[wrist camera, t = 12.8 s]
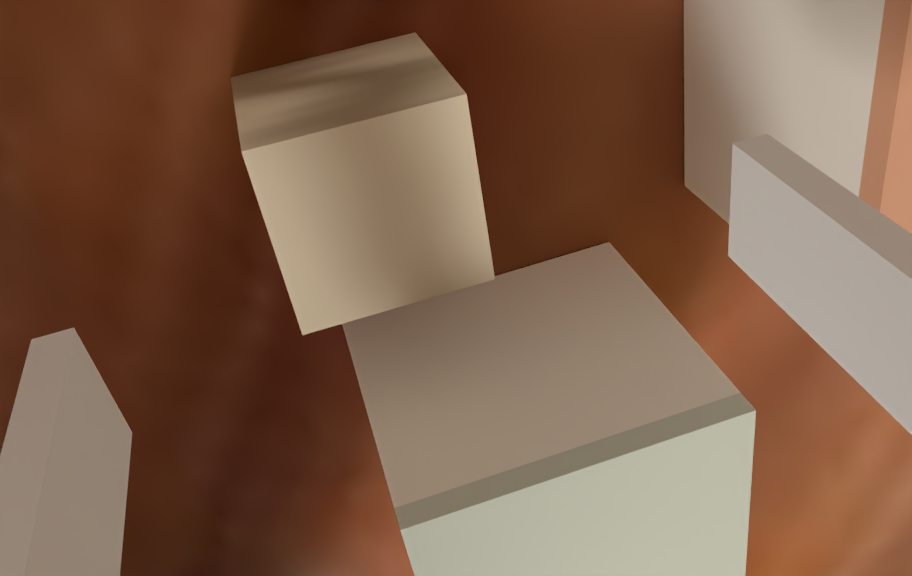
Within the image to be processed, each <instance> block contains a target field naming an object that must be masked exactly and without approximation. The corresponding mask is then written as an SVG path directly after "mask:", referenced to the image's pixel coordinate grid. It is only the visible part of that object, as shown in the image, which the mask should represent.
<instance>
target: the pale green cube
mask: <svg viewBox="0 0 912 576" xmlns="http://www.w3.org/2000/svg"><path fill="white" fill-rule="evenodd" d="M342 326H343V329H344V333H345V336H346V340H347V343H348V347H349V350H350V354H351V357H352V361H353V365H354V368H355V372H356V375H357V379H358V382H359V386H360V389H361V393H362V396H363V400H364V403H365V407H366V411H367V414H368V418H369V421H370V425H371V428H372V432H373V435H374V439H375V442H376V446H377V449H378V453H379V457H380V460H381V464H382V467H383V471H384V474H385V478H386V481H387V485H388V488H389V492H390V495H391V499H392V503H393V506H394V510H395V513H396V517H397V520H398V524H399V527H400V531H401V534H402V537H403V540H404V543H405V547H406V550H407V553H408V556H409V559H410V562H411V566H412V569H413V572H414V575H415V576H745V570H746V555H747V540H748V524H749V509H750V494H751V478H752V463H753V448H754V432H755V417H756V410H755V409H754V407H753V406H752V405H751V404H750V403H749V402H748V401H747V399H746V398H745V397H744V396H743V395H742V394H741V393H740V391H739V390H738V389H737V388H736V387H735V386H734V385H733V383H732V382H731V381H730V380H729V379H728V378H727V377H726V375H725V374H724V373H723V372H722V371H721V370H720V368H719V367H718V366H717V365H716V364H715V363H714V362H713V360H712V359H711V358H710V357H709V356H708V355H707V354H706V352H705V351H704V350H703V349H702V348H701V347H700V346H699V344H698V343H697V342H696V341H695V340H694V339H693V338H692V336H691V335H690V334H689V333H688V332H687V331H686V329H685V328H684V327H683V326H682V325H681V324H680V323H679V321H678V320H677V319H676V318H675V317H674V316H673V315H672V313H671V312H670V311H669V310H668V309H667V308H666V307H665V305H664V304H663V303H662V302H661V301H660V300H659V299H658V297H657V296H656V295H655V294H654V293H653V292H652V291H651V289H650V288H649V287H648V286H647V285H646V284H645V282H644V281H643V280H642V279H641V278H640V277H639V276H638V274H637V273H636V272H635V271H634V270H633V269H632V268H631V266H630V265H629V264H628V263H627V262H626V261H625V260H624V258H623V257H622V256H621V255H620V254H619V253H618V252H617V250H616V249H615V248H614V247H613V246H612V245H611V243H610V242H607V243H604V244H600V245H597V246H594V247H590V248H587V249H584V250H580V251H577V252H574V253H570V254H567V255H564V256H560V257H557V258H554V259H550V260H547V261H544V262H541V263H537V264H534V265H531V266H527V267H524V268H521V269H517V270H514V271H511V272H507V273H504V274H501V275H497V276H495V279H494V280H491V281H488V282H484V283H481V284H477V285H474V286H470V287H467V288H463V289H460V290H457V291H453V292H450V293H446V294H443V295H439V296H436V297H432V298H429V299H426V300H422V301H419V302H415V303H412V304H408V305H405V306H401V307H398V308H395V309H391V310H388V311H384V312H381V313H377V314H374V315H370V316H367V317H364V318H360V319H357V320H353V321H350V322H346V323H343V324H342Z"/></svg>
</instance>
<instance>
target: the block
mask: <svg viewBox="0 0 912 576" xmlns="http://www.w3.org/2000/svg"><path fill="white" fill-rule="evenodd" d="M230 80H231V86H232V93H233V100H234V106H235V113H236V120H237V126H238V133H239V140H240V146H241V152H242V155H243V158H244V161H245V164H246V167H247V170H248V173H249V176H250V179H251V182H252V185H253V188H254V191H255V194H256V197H257V200H258V203H259V206H260V209H261V212H262V215H263V218H264V221H265V224H266V227H267V230H268V233H269V236H270V239H271V242H272V245H273V248H274V251H275V254H276V257H277V260H278V263H279V266H280V269H281V272H282V275H283V278H284V281H285V284H286V287H287V290H288V293H289V296H290V299H291V302H292V305H293V308H294V311H295V314H296V317H297V320H298V323H299V326H300V329H301V332H302V335H305V334H309V333H312V332H315V331H319V330H322V329H326V328H329V327H333V326H336V325H340V324H343V323H346V322H350V321H353V320H357V319H360V318H364V317H367V316H370V315H374V314H377V313H381V312H384V311H388V310H391V309H395V308H398V307H401V306H405V305H408V304H412V303H415V302H419V301H422V300H426V299H429V298H432V297H436V296H439V295H443V294H446V293H450V292H453V291H457V290H460V289H463V288H467V287H470V286H474V285H477V284H481V283H484V282H488V281H491V280H494V279H495V275H494V269H493V262H492V256H491V249H490V243H489V236H488V230H487V223H486V217H485V210H484V204H483V197H482V191H481V184H480V178H479V171H478V165H477V158H476V152H475V145H474V139H473V132H472V126H471V119H470V113H469V106H468V100H467V94H466V93H465V91H464V90H463V89H462V88H461V87H460V85H459V84H458V83H457V82H456V81H455V79H454V78H453V77H452V76H451V75H450V73H449V72H448V71H447V70H446V69H445V67H444V66H443V65H442V64H441V63H440V61H439V60H438V59H437V58H436V57H435V55H434V54H433V53H432V52H431V51H430V49H429V48H428V47H427V46H426V45H425V43H424V42H423V41H422V40H421V39H420V37H419V36H418V35H417V34H416V33H410V34H406V35H402V36H398V37H394V38H390V39H386V40H382V41H378V42H374V43H370V44H365V45H361V46H357V47H353V48H349V49H345V50H341V51H337V52H333V53H329V54H325V55H320V56H316V57H312V58H308V59H304V60H300V61H296V62H292V63H288V64H284V65H280V66H275V67H271V68H267V69H263V70H259V71H255V72H251V73H247V74H243V75H239V76H235V77H230Z"/></svg>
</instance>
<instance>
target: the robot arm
mask: <svg viewBox="0 0 912 576" xmlns="http://www.w3.org/2000/svg"><path fill="white" fill-rule="evenodd" d="M728 256H729V257H730V258H731V259H732V260H733V261H734V262H735V263H736V264H737V265H738V266H739V267H740V268H741V269H742V270H743V271H744V272H745V273H746V274H747V275H748V276H749V277H750V278H751V279H752V280H753V281H754V282H755V283H756V284H757V285H758V286H760V287H761V288H762V289H763V290H764V291H765V292H766V293H767V294H768V295H769V296H770V297H771V298H772V299H773V300H774V301H775V302H776V303H777V304H778V305H779V306H780V307H781V308H782V309H783V310H784V311H785V312H786V313H787V314H788V315H789V316H790V317H791V318H792V319H793V320H794V321H795V322H796V323H797V324H798V325H800V326H801V327H802V328H803V329H804V330H805V331H806V332H807V333H808V334H809V335H810V336H811V337H812V338H813V339H814V340H815V341H816V342H817V343H818V344H819V345H820V346H821V347H822V348H823V349H824V350H825V351H826V352H827V353H828V354H829V355H830V356H831V357H832V358H833V359H834V360H835V361H836V362H837V363H838V364H840V365H841V366H842V367H843V368H844V369H845V370H846V371H847V372H848V373H849V374H850V375H851V376H852V377H853V378H854V379H855V380H856V381H857V382H858V383H859V384H860V385H861V386H862V387H863V388H864V389H865V390H866V391H867V392H868V393H869V394H870V395H871V396H872V397H873V398H874V399H875V400H876V401H877V402H878V403H879V404H881V405H882V406H883V407H884V408H885V409H886V410H887V411H888V412H889V413H890V414H891V415H892V416H893V417H894V418H895V419H896V420H897V421H898V422H899V423H900V424H901V425H902V426H903V427H904V428H905V429H906V430H907V431H908V432H909V433H910V434H911V435H912V234H911V233H909V232H908V231H906V230H905V229H903V228H902V227H901V226H899V225H898V224H896V223H895V222H893V221H892V220H891V219H889V218H888V217H886V216H885V215H883V214H882V213H880V212H879V211H878V210H876V209H875V208H873V207H872V206H870V205H869V204H868V203H866V202H865V201H863V200H862V199H860V198H859V197H857V196H856V195H855V194H853V193H852V192H850V191H849V190H847V189H846V188H845V187H843V186H842V185H840V184H839V183H837V182H836V181H835V180H833V179H832V178H830V177H829V176H827V175H826V174H824V173H823V172H822V171H820V170H819V169H817V168H816V167H814V166H813V165H812V164H810V163H809V162H807V161H806V160H804V159H803V158H801V157H800V156H799V155H797V154H796V153H794V152H793V151H791V150H790V149H789V148H787V147H786V146H784V145H783V144H781V143H780V142H778V141H777V140H776V139H774V138H773V137H771V136H770V135H768V134H764V135H761V136H757V137H754V138H750V139H746V140H743V141H739V142H736V143H733V145H732V170H731V195H730V220H729V246H728ZM131 443H132V431H131V429H130V427H129V426H128V424H127V422H126V420H125V418H124V417H123V415H122V413H121V411H120V409H119V408H118V406H117V404H116V402H115V400H114V399H113V397H112V395H111V393H110V391H109V390H108V388H107V386H106V384H105V382H104V381H103V379H102V377H101V375H100V373H99V372H98V370H97V368H96V366H95V364H94V363H93V361H92V359H91V357H90V355H89V354H88V352H87V350H86V348H85V346H84V345H83V343H82V341H81V339H80V337H79V336H78V334H77V332H76V330H75V328H70V329H67V330H63V331H59V332H56V333H52V334H49V335H45V336H42V337H38V338H34V339H31V342H30V346H29V350H28V354H27V357H26V361H25V365H24V369H23V372H22V376H21V380H20V384H19V387H18V391H17V395H16V398H15V402H14V406H13V410H12V413H11V417H10V421H9V425H8V428H7V432H6V436H5V440H4V443H3V447H2V451H1V454H0V576H120V569H121V557H122V546H123V534H124V523H125V511H126V500H127V488H128V477H129V466H130V454H131Z"/></svg>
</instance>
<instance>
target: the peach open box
mask: <svg viewBox="0 0 912 576" xmlns="http://www.w3.org/2000/svg"><path fill="white" fill-rule="evenodd" d="M764 134H768V135H770V136H771V137H773V138H774V139H776V140H777V141H778V142H780V143H781V144H783V145H784V146H786V147H787V148H789V149H790V150H791V151H793V152H794V153H796V154H797V155H799V156H800V157H801V158H803V159H804V160H806V161H807V162H809V163H810V164H812V165H813V166H814V167H816V168H817V169H819V170H820V171H822V172H823V173H824V174H826V175H827V176H829V177H830V178H832V179H833V180H835V181H836V182H837V183H839V184H840V185H842V186H843V187H845V188H846V189H847V190H849V191H850V192H852V193H853V194H855V195H856V196H857V197H859V198H860V199H862V200H863V201H865V202H866V203H868V204H869V205H870V206H872V207H873V208H875V209H876V210H878V211H879V212H880V213H882V214H883V215H885V216H886V217H888V218H889V219H891V220H892V221H893V222H895V223H896V224H898V225H899V226H901V227H902V228H903V229H905V230H906V231H908V232H909V233H911V234H912V0H684V177H685V187H687V188H688V189H689V190H690V191H691V192H692V193H694V194H695V195H696V196H697V197H698V198H699V199H700V200H702V201H703V202H704V203H705V204H706V205H707V206H709V207H710V208H711V209H712V210H713V211H714V212H715V213H717V214H718V215H719V216H720V217H721V218H722V219H724V220H725V221H726V222H727V223H728V224H729V220H730V195H731V170H732V145H733V143H736V142H739V141H743V140H746V139H750V138H754V137H757V136H761V135H764Z"/></svg>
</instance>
